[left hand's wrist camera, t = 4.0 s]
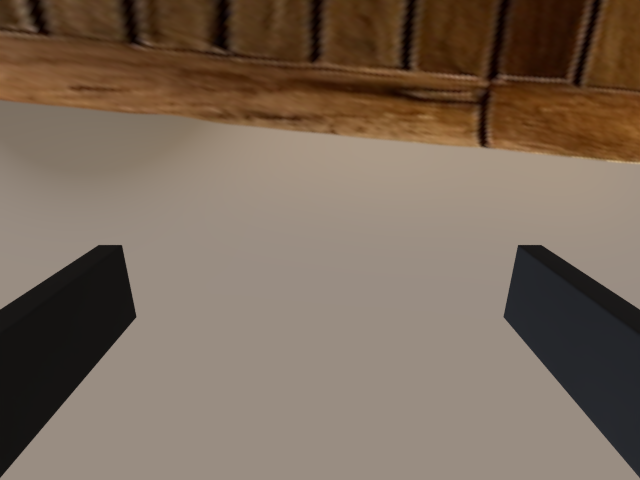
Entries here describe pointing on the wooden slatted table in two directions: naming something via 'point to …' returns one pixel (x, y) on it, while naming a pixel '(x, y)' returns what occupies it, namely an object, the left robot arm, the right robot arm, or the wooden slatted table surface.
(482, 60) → the wooden slatted table surface
